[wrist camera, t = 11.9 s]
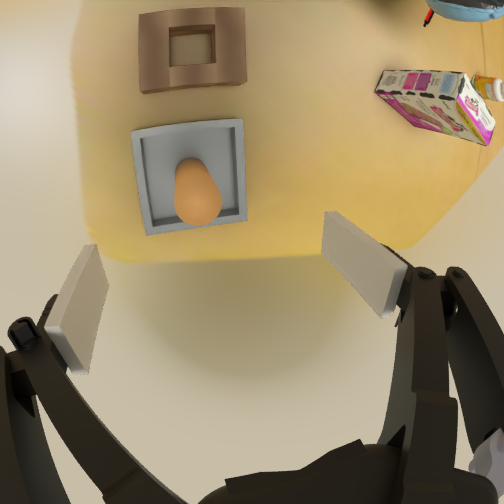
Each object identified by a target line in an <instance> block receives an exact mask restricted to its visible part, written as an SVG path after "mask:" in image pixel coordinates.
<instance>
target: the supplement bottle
mask: <svg viewBox="0 0 504 504" xmlns="http://www.w3.org/2000/svg"><path fill="white" fill-rule="evenodd" d="M472 84H473V85H474V87H475V88H476V90H477V91H478V93H479V95H480V96H481V98H483V99H489V100H494V101H499V102H503V101H504V83H503V82H502V81H501V80H500V79H498V78H492V77H484V76H474V77H473V79H472Z"/></svg>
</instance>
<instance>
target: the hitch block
mask: <svg viewBox="0 0 504 504" xmlns="http://www.w3.org/2000/svg"><path fill="white" fill-rule="evenodd" d="M205 33H211V57H212V63H211V64H196V65H184V66H175V67H170V53H169V36H178V35H189V34H205ZM245 82H247V69H246V42H245V16H244V8H228V7H218V8H191V9H178V10H169V11H160V12H153V13H146V14H140V15H139V83H140V92H142V93H143V94H148V93H154V92H161V91H168V90H177V89H186V88H196V87H209V86H226V85H241V84H243V83H245Z"/></svg>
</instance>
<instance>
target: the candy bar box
mask: <svg viewBox="0 0 504 504" xmlns="http://www.w3.org/2000/svg"><path fill="white" fill-rule="evenodd" d="M375 93H376V94H378V95H379V96H380V97H381V98H383V99H384V100H385V101H386V102H388V103H389V104H390V105H391V106H392V107H394V108H395V109H396V110H397V111H398V112H399V113H400V114H402V115H403V116H404V117H405V118H406V119H407V120H408V121H409V122H410V123H411V124H412V125H414V126H415V127H419V128H423V129H427V130H432V131H436V132H440V133H444V134H448V135H452V136H455V137H458V138H461V139H465V140H468V141H471V142H475V143H478V144H481V145H484V146H487V147H488V146H489V144H490V140H491V137H492V134H493V130H494V126H495V123H496V122H495V120H494V118H493V117H492V115H491V113H490V111H489V109H488V108H487V106H486V104H485V103H484V101H483V99H482V98H481V96H480V95H479V93H478V91H477V90H476V88H475V87H474V85H473V84H472V82H471V81H470V79H469V78H468V76H467V75H466V74H465V72H452V71H433V70H391V71H384V72H383V74H382V76H381V79H380V81H379V83H378V85H377V87H376V90H375Z"/></svg>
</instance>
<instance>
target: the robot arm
mask: <svg viewBox="0 0 504 504" xmlns="http://www.w3.org/2000/svg"><path fill="white" fill-rule="evenodd" d="M425 1H426V2H427V4H428V5H429V6H430V8H431V9H432V10H433V11H434V12H435V13H437V14H439V15H441V16H442V17H444V18H447V19H450V20H455V21H463V22H483V21H489V19H497V18H500V17H502V16H503V15H504V0H425ZM321 253H322V254H323V255H324V256H325V257H326V258H327V260H328V261H329V262H330V263H331V264H332V265H333V266H334V267H335V268H336V269H337V270H338V271H339V272H340V273H341V274H342V276H343V277H344V278H345V279H346V280H347V281H348V282H349V283H350V284H351V285H352V287H353V288H354V289H355V290H356V291H357V292H358V293H359V294H360V296H361V297H362V298H363V299H364V300H365V301H366V302H367V303H368V304H369V306H370V307H371V308H372V309H373V310H374V311H375V312H376V314H377V315H378V316H379V317H380V318H384V317H387V316H390V315H393V313H394V310H395V307H396V304H397V305H398V306H399V307H400V308H401V310H400V313H399V316H398V318H397V321H396V324H395V327H397V325H398V333H397V343H396V353H395V362H394V370H393V377H392V383H391V390H390V396H389V402H388V407H387V412H386V417H385V422H384V426H383V430H382V433H381V436H380V438H379V440H378V442H377V444H366V445H363V443H362V442H361V440H360V439H358V440H356V441H353V442H351V443H349V444H346V445H344V446H341V447H339V448H336V449H334V450H331V451H329V452H328V453H326V454H325V455H323V456H322V457H320V458H319V459H317V460H315V461H314V462H312V463H311V464H309V465H307V466H306V467H304V468H302V469H300V470H294V471H279V472H258V473H254V474H249V475H244V476H239V477H234V478H228V479H225V482H226V485H225V486H223V487H220V488H218V489H217V490H215V491H213V492H211V493H210V494H208V495H207V496H205V497H204V498H203V499H202V500H201V501H200V502H199V503H198V504H498V499H499V498H500V497H501V496H502V495H503V494H504V334H503V332H502V330H501V328H500V326H499V324H498V322H497V321H496V319H495V317H494V315H493V313H492V312H491V310H490V308H489V307H488V305H487V303H486V302H485V300H484V298H483V297H482V295H481V293H480V292H479V290H478V289H477V287H476V286H475V284H474V282H473V281H472V279H471V278H470V276H469V275H468V274H467V273H466V272H465V271H464V270H463V269H462V268H459V267H449V268H448V269H447V272H446V275H445V276H437V275H436V273H434V271H432V270H430V269H428V268H425V267H416V268H415V267H413V266H412V265H411V264H410V263H408V262H407V261H406V260H405V259H403V258H402V257H400V256H399V255H398V254H397V253H395V251H393V250H392V249H391V248H389V247H388V246H385V245H383V244H381V243H379V242H377V241H376V240H375V239H373V238H372V237H371V236H369V235H368V234H367V233H365V232H364V231H363V230H361V229H360V228H359V227H357V226H356V225H355V224H353V223H352V222H351V221H349V220H348V219H346V218H345V217H344V216H342V215H341V214H339V213H338V212H337V211H329V212H325V213H324V226H323V238H322V249H321ZM108 288H109V284H108V281H107V278H106V275H105V271H104V268H103V265H102V262H101V259H100V256H99V252H98V248H97V245H96V244H91V245H86V246H84V247H83V249H82V250H81V252H80V254H79V256H78V258H77V259H76V261H75V263H74V265H73V267H72V269H71V271H70V273H69V274H68V276H67V278H66V280H65V282H64V285H63V286H62V288H61V290H60V292H59V294H55V295H53V296H52V297H51V299H50V300H49V301H48V302H47V304H46V306H45V308H44V309H45V310H44V311H43V313H42V316H41V317H40V319H39V321H38V323H37V326H36V325H35V324H34V322H33V320H32V319H31V318H30V317H21V318H19V319H17V320H16V321H15V322H13V323H12V325H11V326H10V327H9V329H8V337H9V339H10V340H11V342H12V343H13V345H14V346H15V348H16V349H17V350H15V351H12V352H10V353H6V352H5V350H4V349H3V347H1V346H0V504H71V503H70V501H69V499H68V496H67V494H66V492H65V490H64V487H63V485H62V482H61V480H60V478H59V475H58V472H57V470H56V467H55V464H54V462H53V459H52V456H51V453H50V450H49V446H48V443H47V440H46V437H45V433H44V429H43V426H42V422H41V418H40V414H39V409H38V405H37V401H36V395H37V396H38V398H39V400H40V402H41V403H42V405H43V407H44V409H45V411H46V413H47V414H48V416H49V418H50V420H51V422H52V423H53V425H54V427H55V428H56V430H57V431H58V433H59V435H60V436H61V438H62V440H63V441H64V443H65V444H66V446H67V447H68V448H69V450H70V451H71V453H72V454H73V456H74V457H75V459H76V460H77V462H78V463H79V464H80V466H81V467H82V468H83V470H84V471H85V472H86V474H87V475H88V476H89V477H90V479H91V480H92V481H93V482H94V483H95V485H96V486H97V487H98V488H99V490H100V491H101V492H102V494H103V497H102V498H103V500H104V502H105V503H106V504H188V503H187V502H185V501H184V500H183V499H181V498H180V497H179V496H178V495H176V494H175V493H174V492H172V491H171V490H170V489H169V488H167V487H166V486H165V485H164V484H163V483H162V482H160V481H159V480H158V479H157V478H156V477H155V476H154V475H153V474H151V473H150V472H149V471H148V470H147V469H146V468H145V467H144V466H143V465H141V464H140V463H139V461H138V460H137V459H135V458H134V456H133V455H132V454H130V453H129V451H128V450H127V449H126V448H125V447H124V446H123V445H122V444H121V443H120V442H119V441H118V440H117V438H116V437H115V436H114V435H113V434H112V433H111V432H110V431H109V429H108V428H107V427H106V426H105V425H104V424H103V423H102V421H101V420H100V419H99V418H98V416H97V415H96V414H95V413H94V411H93V410H92V409H91V408H90V406H89V405H88V404H87V402H86V401H85V400H84V398H83V397H82V396H81V395H80V393H79V392H78V390H77V389H76V387H75V386H74V385H73V383H72V382H71V380H70V379H69V377H68V376H67V375H66V371H67V367H69V369H70V370H71V372H72V373H73V375H86V374H87V375H88V374H89V369H90V363H91V358H92V353H93V348H94V343H95V339H96V334H97V330H98V326H99V322H100V317H101V313H102V310H103V306H104V302H105V298H106V295H107V291H108ZM457 307H458V310H457V312H456V309H457ZM448 361H449V364H450V368H451V371H452V374H453V378H454V381H455V385H456V388H457V392H458V396H459V400H460V404H461V408H462V413H463V417H464V422H465V427H466V432H467V436H468V440H469V443H470V446H471V449H472V452H473V454H474V459H473V460H472V461H471V462H470V464H469V471H470V472H468V471H464V470H460V469H457V468H454V463H455V454H456V442H457V426H458V403H457V400H456V398H451V397H450V396H449V367H448Z"/></svg>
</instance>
